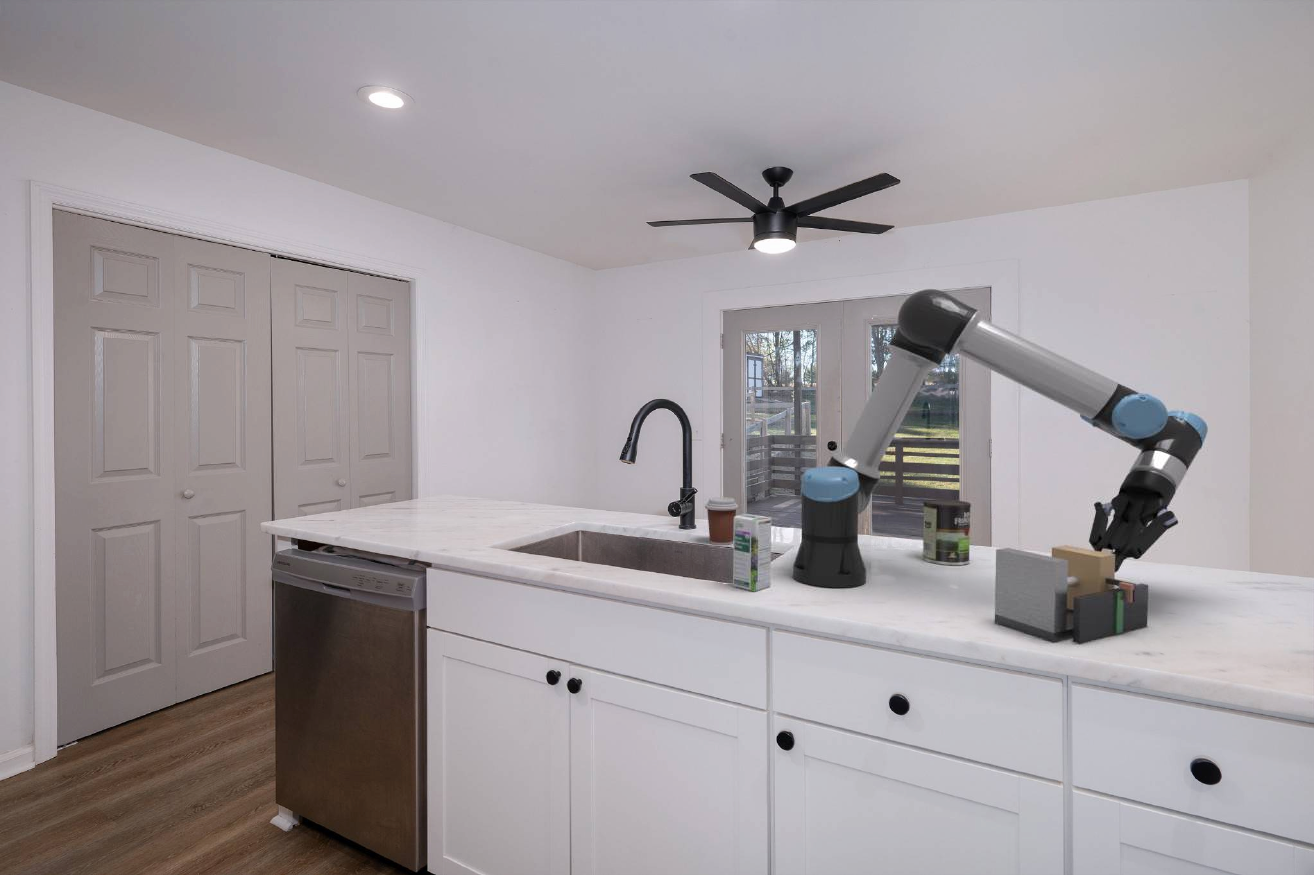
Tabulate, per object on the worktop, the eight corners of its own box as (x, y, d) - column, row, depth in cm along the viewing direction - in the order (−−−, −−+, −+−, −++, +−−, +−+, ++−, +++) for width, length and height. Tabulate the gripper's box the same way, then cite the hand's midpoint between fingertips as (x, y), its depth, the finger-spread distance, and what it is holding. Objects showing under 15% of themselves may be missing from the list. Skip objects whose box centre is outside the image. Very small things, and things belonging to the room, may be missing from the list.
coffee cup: (729, 547, 163) (729, 502, 163) (698, 543, 168) (699, 499, 168) (743, 541, 171) (743, 498, 170) (713, 538, 176) (714, 495, 175)
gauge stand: (1076, 605, 114) (1077, 538, 114) (1152, 626, 103) (1154, 551, 102) (994, 622, 105) (996, 549, 104) (1069, 647, 94) (1071, 565, 93)
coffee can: (978, 561, 148) (979, 502, 147) (955, 568, 142) (956, 506, 141) (936, 553, 156) (937, 497, 155) (913, 559, 150) (914, 501, 149)
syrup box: (731, 586, 127) (732, 516, 126) (749, 581, 131) (749, 512, 130) (754, 592, 123) (754, 519, 122) (772, 586, 127) (772, 516, 126)
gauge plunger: (1064, 600, 111) (1066, 545, 111) (1141, 621, 100) (1143, 560, 100) (1028, 608, 107) (1029, 550, 106) (1104, 631, 96) (1106, 566, 95)
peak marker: (1122, 599, 100) (1122, 582, 100) (1133, 602, 99) (1134, 584, 99) (1118, 600, 100) (1118, 582, 100) (1130, 602, 98) (1130, 585, 98)
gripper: (1202, 500, 109) (1145, 606, 103) (1120, 491, 121) (1065, 586, 115) (1187, 471, 107) (1127, 578, 100) (1105, 465, 119) (1047, 561, 112)
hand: (1094, 583), depth 108 cm, fingers closed
